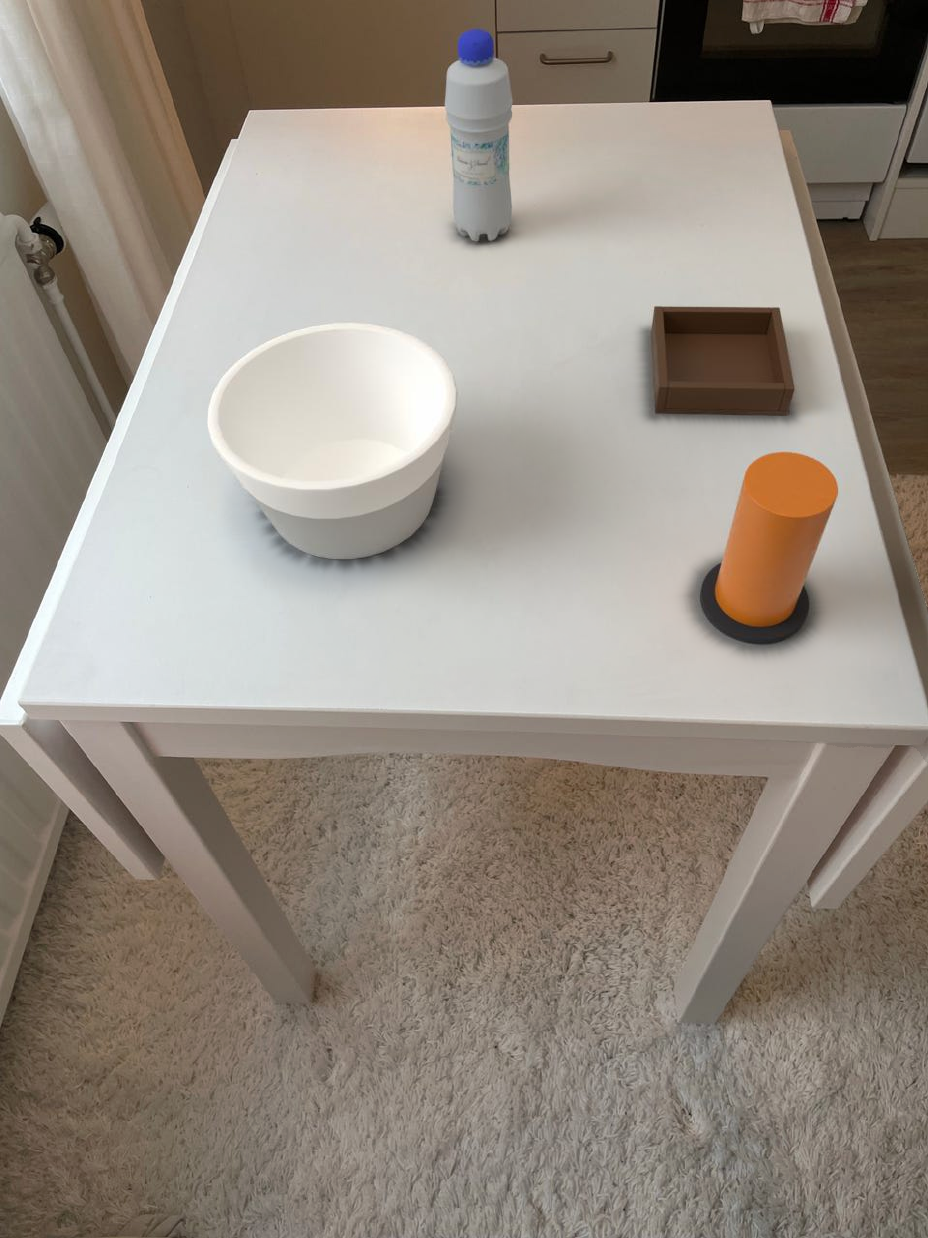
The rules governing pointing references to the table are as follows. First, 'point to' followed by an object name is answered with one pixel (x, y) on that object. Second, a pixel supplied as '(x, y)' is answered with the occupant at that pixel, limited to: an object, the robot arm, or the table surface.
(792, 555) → the orange cylinder
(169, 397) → the table surface
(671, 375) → the tray
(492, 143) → the bottle
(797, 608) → the coaster
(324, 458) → the bowl
